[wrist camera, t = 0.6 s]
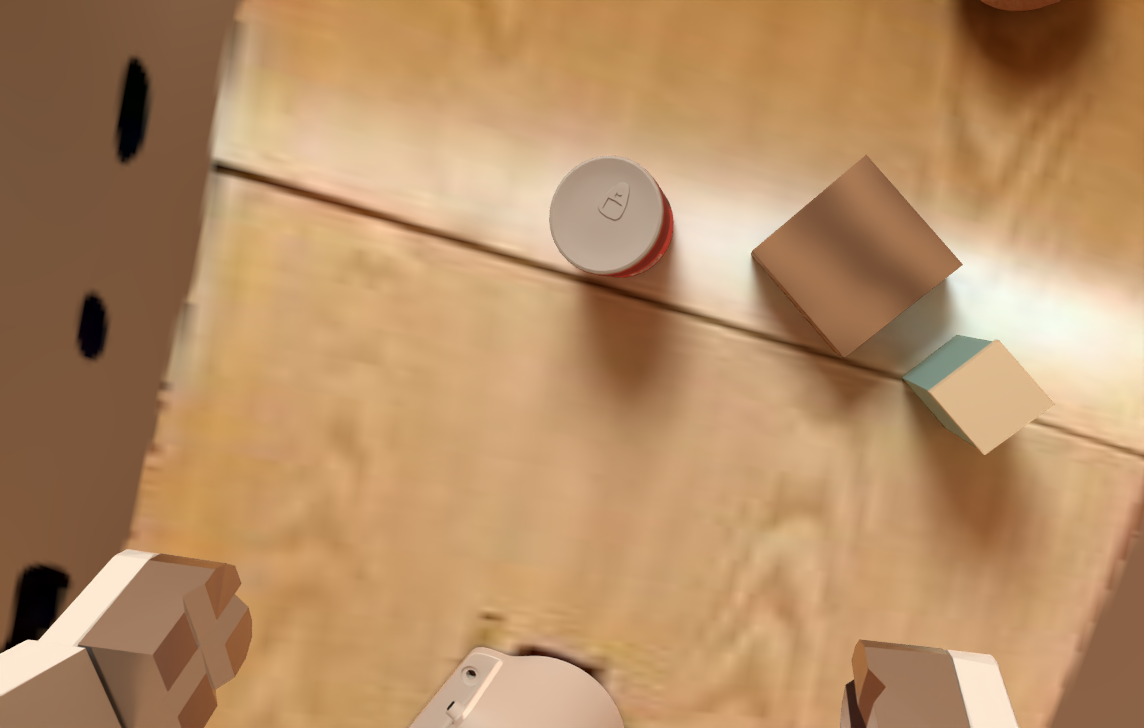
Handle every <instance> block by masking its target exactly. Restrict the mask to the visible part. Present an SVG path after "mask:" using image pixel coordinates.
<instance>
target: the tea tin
mask: <svg viewBox="0 0 1144 728" xmlns="http://www.w3.org/2000/svg"><path fill="white" fill-rule="evenodd" d="M902 378H903V380H904V381H905V382H906V383H907V384H908V385H909V386H910V388H911V389H912V390H913V391H914V392H915V393H916V395H917V396H918V397H919V398H920V399H921V400H922V402H923V403H924V404H925V405H926V406H927V407H928V408H929V410H930V411H931V412H932V413H933V414H934V415H935V417H936V418H937V419H938V420H939V421H940V422H941V424H942V425H943V426H944V427H945V428H946V429H948V430H949V431H951V432H952V433H954V434H955V435H957V436H959V437H960V438H962V439H963V440H965V441H967V442H968V443H970V444H971V445H973V446H974V447H976V448H977V449H978V450H979V451H980V452H981V453H982V454H983V455H986V454H987V453H989V452H990V451H991V450H993V449H994V448H996V447H997V446H998V445H1000V444H1001V443H1002V442H1004V441H1005V440H1006V439H1008V438H1009V437H1011V436H1012V435H1013V434H1015V433H1016V432H1017V431H1019V430H1020V429H1021V428H1023V427H1024V426H1026V425H1027V424H1028V423H1030V422H1031V421H1032V420H1034V419H1035V418H1037V417H1038V416H1039V415H1041V414H1042V413H1043V412H1045V411H1046V410H1047V409H1049V408H1050V407H1052V406H1053V405H1054V403H1053V401H1052V400H1051V399H1050V398H1049V397H1048V396H1047V395H1046V393H1045V392H1044V391H1043V390H1042V389H1041V388H1040V387H1039V385H1038V384H1037V383H1036V382H1035V381H1034V380H1033V379H1032V377H1031V376H1030V375H1029V374H1028V373H1027V372H1026V371H1025V369H1024V368H1023V367H1022V366H1021V365H1020V364H1019V363H1018V361H1017V360H1016V359H1015V358H1014V357H1013V356H1012V355H1011V353H1010V352H1009V351H1008V350H1007V349H1006V348H1005V347H1004V345H1003V344H1002V343H1001V342H1000V341H999V340H994V341H987V340H982V339H976V338H971V337H965V336H960V335H956V336H955V337H953V338H952V339H951V340H950V341H948V342H947V343H946V344H944V345H943V346H942V347H940V348H939V349H938V350H937V351H935V352H934V353H933V354H931V355H930V356H929V357H927V358H926V359H925V360H924V361H922V362H921V363H920V364H918V365H917V366H916V367H915V368H913V369H912V370H911V371H909V372H908V373H907V374H905V375H904V376H903V377H902Z"/></svg>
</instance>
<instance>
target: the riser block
mask: <svg viewBox="0 0 1144 728" xmlns="http://www.w3.org/2000/svg"><path fill="white" fill-rule="evenodd" d="M751 255H752V256H753V257H754V258H755V259H756V261H757V262H758V263H759V264H760V265H761V266H762V268H763V269H764V270H765V271H766V272H767V273H768V275H769V276H770V277H771V278H772V279H773V280H774V281H775V283H776V284H777V285H778V286H779V287H780V288H781V290H782V291H783V292H784V293H785V294H786V295H787V297H788V298H789V299H790V300H791V301H792V302H793V304H794V305H795V306H796V307H797V308H798V309H799V311H800V312H801V313H802V314H803V315H804V316H805V318H806V319H807V320H808V321H809V322H810V323H811V325H812V326H813V327H814V328H815V329H816V330H817V332H818V333H819V334H820V335H821V336H822V337H823V338H824V340H825V341H826V342H827V343H828V344H829V345H830V347H831V348H832V349H833V350H834V351H835V352H836V353H837V354H839V355H840V356H842V357H844V358H845V357H846V356H848V355H849V354H850V353H852V352H853V351H854V350H855V349H857V348H858V347H859V346H860V345H862V344H863V343H864V342H865V341H867V340H868V339H869V338H871V337H872V336H873V335H874V334H876V333H877V332H878V331H879V330H881V329H882V328H883V327H884V326H886V325H887V324H888V323H890V322H891V321H892V320H893V319H895V318H896V317H897V316H898V315H900V314H901V313H902V312H903V311H905V310H906V309H907V308H909V307H910V306H911V305H912V304H914V303H915V302H916V301H917V300H919V299H920V298H921V297H922V296H924V295H925V294H926V293H928V292H929V291H930V290H931V289H933V288H934V287H935V286H936V285H938V284H939V283H940V282H941V281H943V280H944V279H945V278H947V277H948V276H949V275H950V274H952V273H953V272H954V271H955V270H957V269H958V268H959V267H960V266H962V265H963V264H962V263H961V262H960V261H959V260H958V259H957V258H956V256H955V255H954V254H953V253H952V252H951V251H950V250H949V248H948V247H947V246H946V245H945V244H944V243H943V242H942V240H941V239H940V238H939V237H938V236H937V235H936V234H935V232H934V231H933V230H932V229H931V228H930V227H929V226H928V224H927V223H926V222H925V221H924V220H923V219H922V218H921V217H920V215H919V214H918V213H917V212H916V211H915V210H914V209H913V207H912V206H911V205H910V204H909V203H908V202H907V201H906V199H905V198H904V197H903V196H902V195H901V194H900V193H899V191H898V190H897V189H896V188H895V187H894V186H893V185H892V183H891V182H890V181H889V180H888V179H887V178H886V177H885V176H884V174H883V173H882V172H881V171H880V170H879V169H878V168H877V166H876V165H875V164H874V163H873V162H872V161H871V160H870V158H869V157H868V156H867V155H866V156H864V157H863V158H862V159H861V160H860V161H858V162H857V163H856V164H855V165H854V166H852V167H851V168H850V169H849V170H848V171H847V172H845V173H844V174H843V175H842V176H841V177H839V178H838V179H837V180H836V181H835V182H833V183H832V184H831V185H830V186H829V187H828V188H826V189H825V190H824V191H823V192H822V193H820V194H819V195H818V196H817V197H816V198H814V199H813V200H812V201H811V202H810V203H809V204H807V205H806V206H805V207H804V208H803V209H801V210H800V211H799V212H798V213H797V214H796V215H794V216H793V217H792V218H791V219H790V220H788V221H787V222H786V223H785V224H784V225H782V226H781V227H780V228H779V229H778V230H777V231H775V232H774V233H773V234H772V235H771V236H769V237H768V238H767V239H766V240H765V241H763V242H762V243H761V244H760V245H759V246H758V247H756V248H755V249H754V250H753V251H752V253H751Z"/></svg>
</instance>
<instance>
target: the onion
mask: <svg viewBox="0 0 1144 728" xmlns="http://www.w3.org/2000/svg"><path fill="white" fill-rule="evenodd" d="M980 1H982V2H983V3H985V4H987V5H989V6H992V7H995V8H998V9H1001V10H1008V11H1027V10H1033V9H1038V8H1042V7H1045V6H1048V5H1051V4H1055V3H1057V2H1059V1H1061V0H980Z"/></svg>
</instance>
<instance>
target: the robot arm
mask: <svg viewBox="0 0 1144 728" xmlns="http://www.w3.org/2000/svg"><path fill="white" fill-rule="evenodd" d="M240 585H241V581H240V578H239V575H238V573H237V570H236V567H235V566H234V565H230V564H226V563H220V562H214V561H207V560H200V559H194V558H187V557H180V556H174V555H167V554H158V553H151V552H143V551H136V550H129V549H127V550H125V551H123V552H121V553H119V554H117V555H115V556H114V557H113V558H112V559H111V560H110V561H109V562H108V563H107V565H106V566H105V567H104V568H103V569H102V570H101V572H99V574H98V575H97V576H96V577H95V578H94V579H93V580H92V581H91V583H90V584H89V585H88V586H87V587H86V588H85V589H84V590H83V592H82V593H81V594H80V595H79V596H78V597H77V598H76V599H75V600H74V601H73V603H72V604H71V605H70V606H69V607H68V608H67V609H66V610H65V611H64V613H63V614H62V615H61V616H60V617H59V618H58V619H57V620H56V621H55V623H54V624H53V625H52V626H51V627H50V628H49V629H48V630H47V632H46V633H45V634H44V635H43V636H42V637H41V638H40V639H39V640H38V641H35V640H26V641H24V642H22V643H20V644H18V645H17V646H15V647H13V648H11V649H9V650H7V651H5V652H3V653H1V654H0V728H204V727H205V725H206V723H207V722H208V720H209V719H210V717H211V715H212V714H213V712H214V710H215V709H216V707H217V698H216V691H215V690H216V689H217V688H219V687H220V686H222V685H223V684H225V683H226V682H228V681H230V680H231V679H233V678H234V677H235V676H236V674H237V673H238V671H239V669H240V667H241V666H242V664H243V662H244V660H245V659H246V656H247V652H248V649H249V645H250V642H251V638H252V619H251V615H250V611H249V608H248V606H247V605H245V604H244V603H243V602H242V601H241V600H240V599H239V598H238V597H237V596H236V595H235V593H236V591H237V590H238V588H239V587H240ZM852 667H853V674H854V680H852V681H851V682H849V683H848V684H846V685H845V690H844V695H843V700H842V707H841V720H840V728H1019V726H1018V723H1017V720H1016V717H1015V714H1014V711H1013V708H1012V705H1011V702H1010V699H1009V696H1008V693H1007V690H1006V687H1005V684H1004V681H1003V678H1002V675H1001V672H1000V669H999V666H998V663H997V661H996V660H995V659H994V658H993V657H992V655H988V654H980V653H971V652H963V651H954V650H943V649H941V648H932V647H923V646H914V645H905V644H896V643H887V642H878V641H868V640H859V641H858V643H857V644H856V646H855V649H854V653H853V657H852ZM469 670H473V671H474V672H475V673H476V676H472V675H471V674H470V673H469ZM408 728H624V724H623V721H622V718H621V716H620V713H619V711H618V709H617V707H616V705H615V703H614V702H613V700H612V698H611V697H610V696H609V694H608V693H607V692H606V690H605V689H604V688H603V687H602V686H601V685H600V684H599V683H598V682H597V681H596V680H595V679H594V678H593V677H591V676H590V675H589V674H587V673H586V672H584V671H583V670H581V669H580V668H578V667H576V666H574V665H572V664H570V663H567V662H565V661H562V660H559V659H555V658H551V657H544V656H508V655H506V654H503V653H501V652H498V651H495V650H492V649H489V648H485V647H478V648H475V649H473V650H472V651H471V652H470V653H469V654H468V655H467V656H466V657H465V659H464V660H463V661H462V662H461V663H460V665H459V666H458V667H457V668H456V670H455V671H454V672H453V673H452V674H451V676H450V677H449V678H448V679H447V680H446V682H445V683H444V684H443V685H442V686H441V688H440V689H439V690H438V691H437V693H436V694H435V695H434V696H433V697H432V699H431V700H430V701H429V702H428V703H427V705H426V706H425V707H424V708H423V710H422V711H421V712H420V713H419V714H418V716H417V717H416V718H415V719H414V720H413V722H412V723H411V724H410V725H409V726H408Z"/></svg>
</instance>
